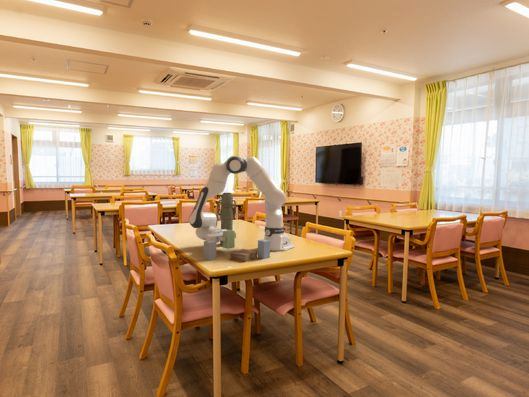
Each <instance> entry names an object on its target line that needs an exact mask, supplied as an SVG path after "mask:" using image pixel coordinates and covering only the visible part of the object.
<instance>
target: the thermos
mask: <svg viewBox="0 0 529 397" xmlns="http://www.w3.org/2000/svg"><path fill="white" fill-rule="evenodd" d="M221 194H222V195H221V198H220V199H219V200H218V201H217V203H218V204H217V215H218V216H219V218H220V229H227V230H232V231H234V230H233V228H234V226H233V225H234V222H233V220H234V216H236V213H237V212H236V210H237V209H236V208H237V202H236V200H235V199H234V197H233V194H232V193H231V192H222V193H221ZM220 202H221V203H220ZM220 205H221V208H220ZM233 205H234V206H233ZM219 245H220V246H222V247H223V241H219Z"/></svg>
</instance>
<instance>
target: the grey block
mask: <svg viewBox="0 0 529 397" xmlns="http://www.w3.org/2000/svg"><path fill="white" fill-rule="evenodd" d="M203 259H204V260H206V261H214V260H217V243H216V241H212V240H209V241H205V240H203Z"/></svg>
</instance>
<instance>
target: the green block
mask: <svg viewBox="0 0 529 397" xmlns="http://www.w3.org/2000/svg"><path fill="white" fill-rule="evenodd" d="M235 232H236V231H235V230H233V231H232V230H226V231H223V237H225V238H226V241H223V246H222V249H223V248H224V249H226V250H229V249H234V248H235V246H236V245H235V244H236V243H235V242H236V241H235V240H236V238H235Z"/></svg>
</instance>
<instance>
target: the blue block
mask: <svg viewBox="0 0 529 397" xmlns="http://www.w3.org/2000/svg"><path fill="white" fill-rule="evenodd" d="M257 258H258V259H262V260H266V259H269V258H271V250H270V240H265V239H264V238H263V239H259V240H257Z"/></svg>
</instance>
